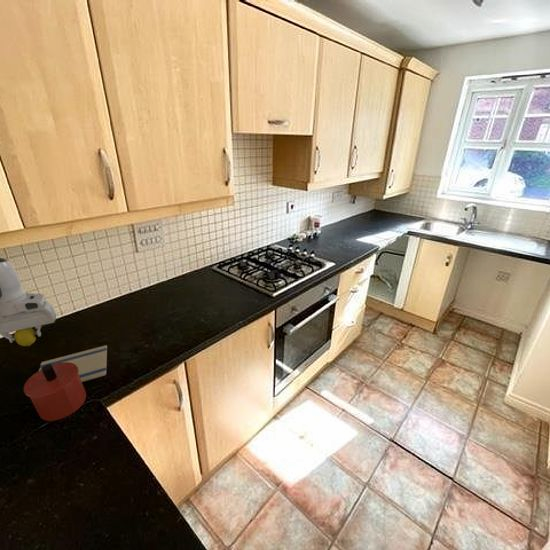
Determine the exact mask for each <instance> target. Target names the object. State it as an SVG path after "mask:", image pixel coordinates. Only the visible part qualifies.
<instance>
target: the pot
mask: <svg viewBox="0 0 550 550" xmlns="http://www.w3.org/2000/svg"><path fill="white" fill-rule="evenodd" d="M29 399H30V400H31V402H32V404H33V407H34V408H35V410H36V412H37V414H38V416H39V418H40V419H42V420H43V421H46V422H54V421H58V420H62V419H64V418H67V417H68V416H70V415H72V414H74V413H75V412H77V411H78V410H79V409H80V408H81V407H82V406H83V405H84V403H85V401H86V399H87V392H86V389H85V387H84V384H83V382H81V379H80V377H79V374H78V375H77V377H76V378H75V380H74V381H73V382H72V383H71V384H70V385H68V386H67V387H66V388H64V389H63V390H61V391H59V392H57V393H55V394H52V395H49V396H46V397H41V398H32V397H29Z"/></svg>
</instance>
